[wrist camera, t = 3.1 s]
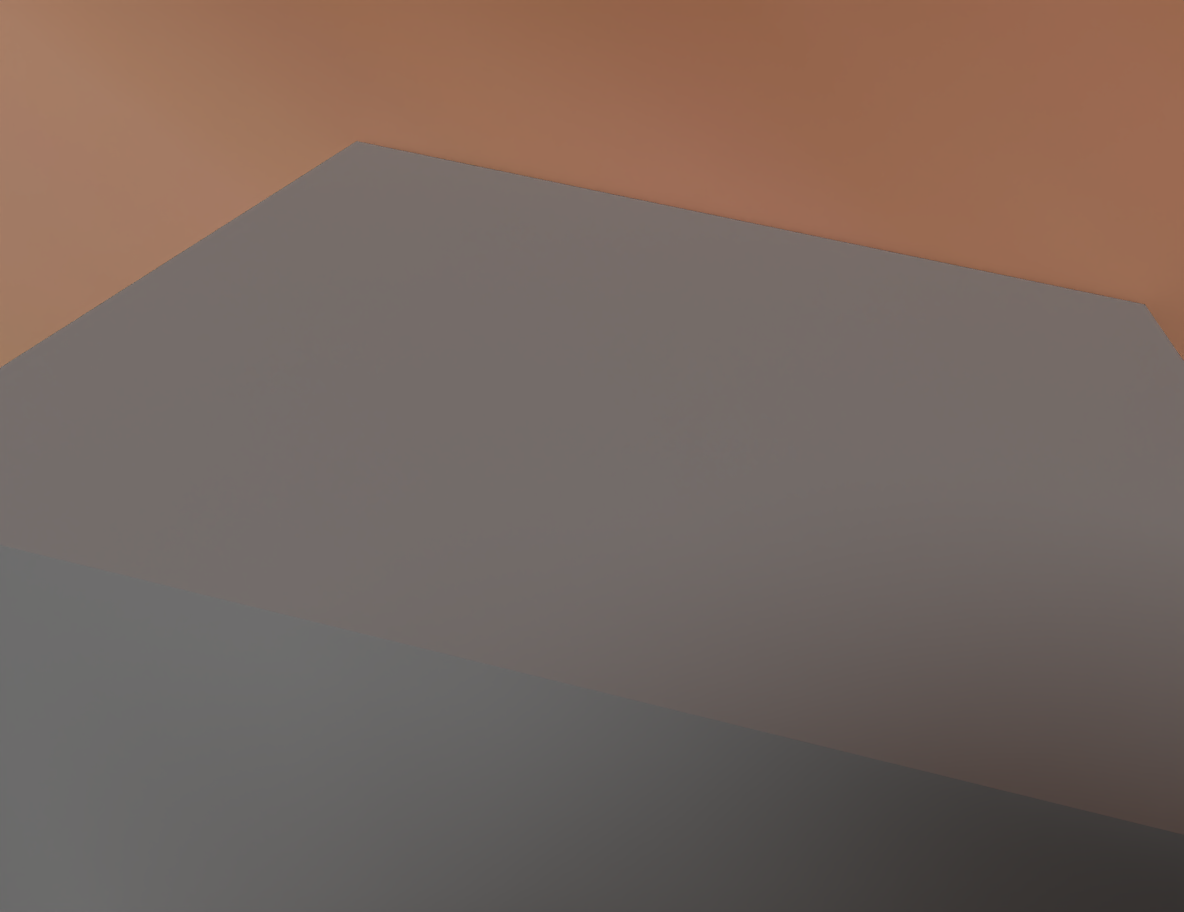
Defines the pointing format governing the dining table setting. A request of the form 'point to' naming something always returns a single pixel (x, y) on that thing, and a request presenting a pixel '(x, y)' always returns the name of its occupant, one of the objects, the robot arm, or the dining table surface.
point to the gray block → (587, 571)
